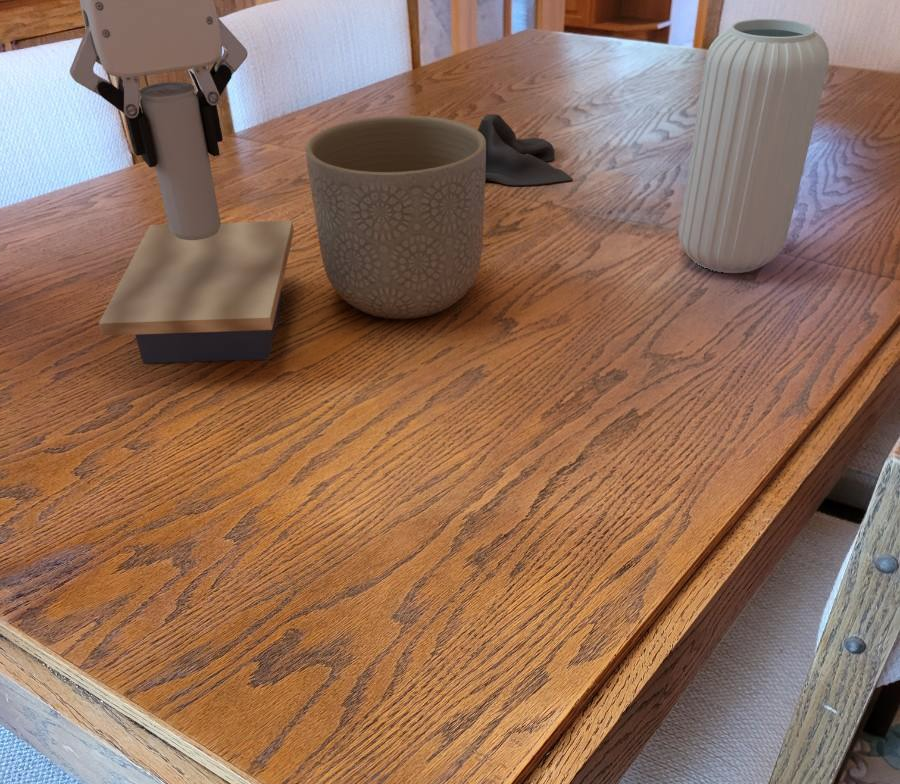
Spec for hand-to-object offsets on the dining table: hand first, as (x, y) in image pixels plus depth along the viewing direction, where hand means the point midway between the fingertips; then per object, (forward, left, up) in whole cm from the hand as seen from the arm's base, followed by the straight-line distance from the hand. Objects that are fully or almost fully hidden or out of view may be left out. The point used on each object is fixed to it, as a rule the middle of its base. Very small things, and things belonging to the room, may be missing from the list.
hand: (180, 154), depth 80 cm
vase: (+55, +12, -17) cm, 59 cm away
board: (0, 0, -11) cm, 11 cm away
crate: (0, 0, -16) cm, 16 cm away
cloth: (+32, +45, -17) cm, 58 cm away
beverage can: (0, 0, -7) cm, 7 cm away
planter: (+19, +5, -17) cm, 26 cm away
